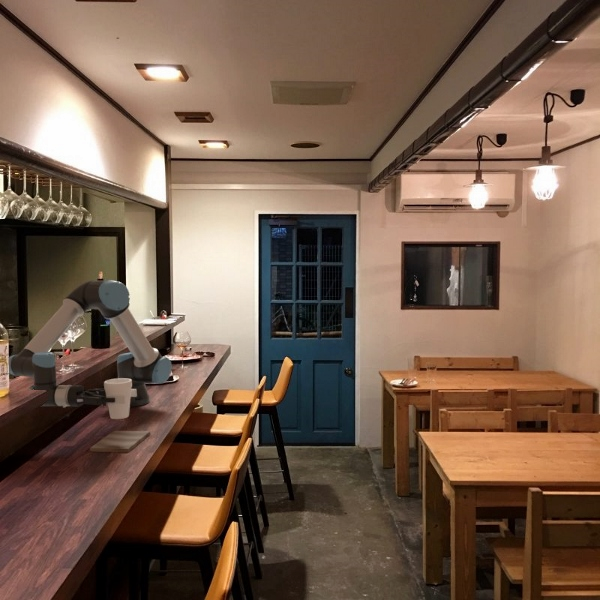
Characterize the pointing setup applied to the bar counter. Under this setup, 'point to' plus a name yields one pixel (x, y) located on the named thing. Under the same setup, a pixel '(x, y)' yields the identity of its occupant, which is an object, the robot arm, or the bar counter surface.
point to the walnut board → (120, 441)
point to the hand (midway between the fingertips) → (130, 396)
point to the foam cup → (119, 389)
